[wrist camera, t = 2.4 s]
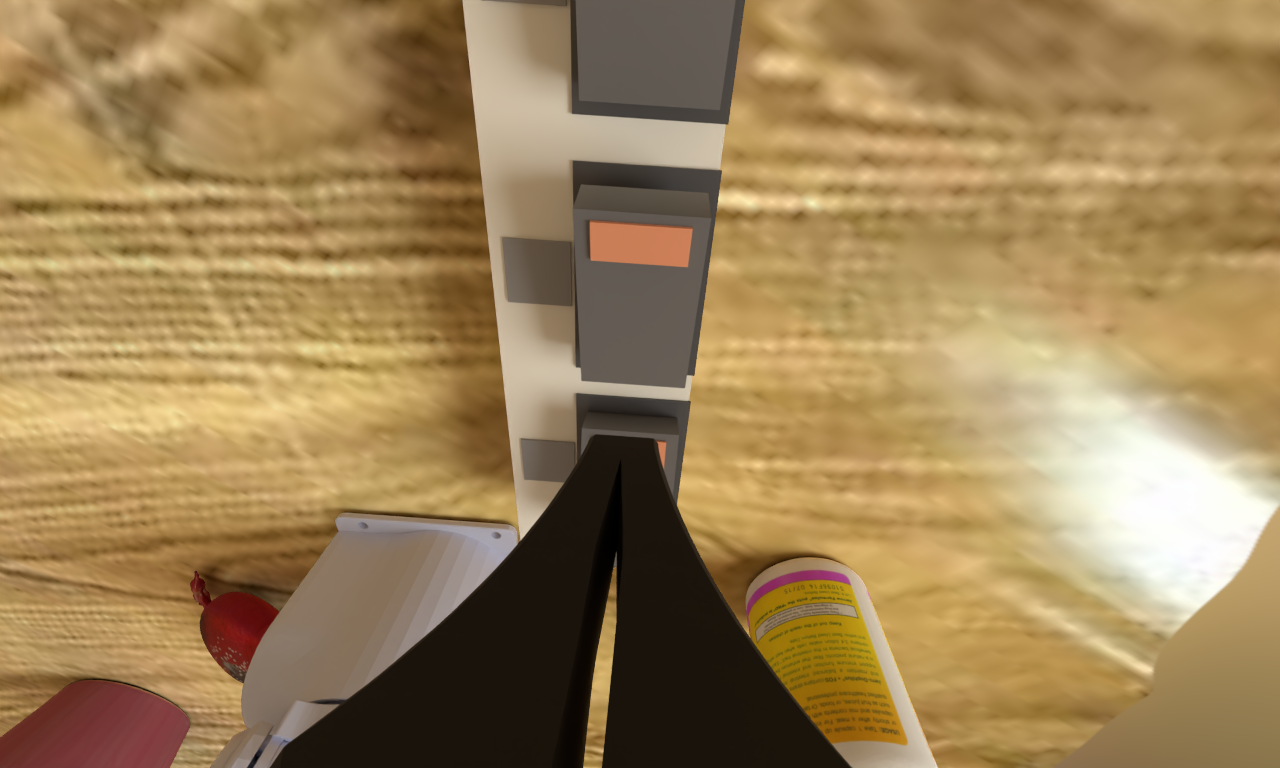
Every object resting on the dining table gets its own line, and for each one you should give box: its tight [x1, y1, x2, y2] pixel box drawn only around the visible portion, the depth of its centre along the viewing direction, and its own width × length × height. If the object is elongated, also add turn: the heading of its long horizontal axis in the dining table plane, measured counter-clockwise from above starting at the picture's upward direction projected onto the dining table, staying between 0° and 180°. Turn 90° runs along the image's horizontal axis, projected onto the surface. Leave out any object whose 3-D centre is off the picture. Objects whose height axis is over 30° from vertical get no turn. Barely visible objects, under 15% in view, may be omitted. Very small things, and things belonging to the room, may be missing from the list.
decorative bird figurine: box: [190, 571, 280, 683], centre depth 30 cm, size 3×18×10 cm
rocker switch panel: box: [463, 0, 745, 540], centre depth 16 cm, size 6×25×4 cm, turn 177°
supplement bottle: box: [745, 557, 938, 768], centre depth 22 cm, size 7×7×13 cm
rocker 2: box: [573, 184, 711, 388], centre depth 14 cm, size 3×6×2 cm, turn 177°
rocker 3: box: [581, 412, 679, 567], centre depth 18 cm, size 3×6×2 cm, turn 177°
